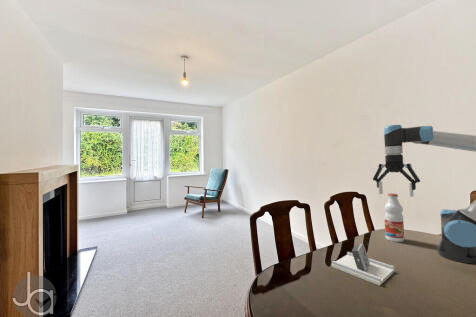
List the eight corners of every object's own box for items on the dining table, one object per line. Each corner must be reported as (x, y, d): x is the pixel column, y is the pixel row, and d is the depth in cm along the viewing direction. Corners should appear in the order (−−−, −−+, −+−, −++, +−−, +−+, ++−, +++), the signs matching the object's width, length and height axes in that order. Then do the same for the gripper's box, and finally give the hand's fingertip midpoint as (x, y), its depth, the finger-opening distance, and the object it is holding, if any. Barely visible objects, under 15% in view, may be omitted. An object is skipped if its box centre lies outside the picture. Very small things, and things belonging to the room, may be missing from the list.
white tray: (394, 271, 94) (394, 265, 94) (379, 285, 84) (379, 279, 84) (348, 256, 110) (348, 251, 110) (331, 266, 100) (331, 261, 100)
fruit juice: (407, 240, 128) (406, 194, 129) (397, 243, 125) (395, 195, 125) (391, 235, 137) (390, 192, 138) (381, 238, 134) (380, 193, 134)
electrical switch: (367, 272, 92) (363, 250, 92) (353, 269, 95) (350, 248, 96) (370, 263, 99) (367, 243, 100) (357, 262, 102) (354, 242, 103)
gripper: (426, 153, 105) (428, 196, 104) (370, 155, 124) (372, 192, 124) (422, 153, 100) (424, 198, 100) (365, 155, 120) (366, 193, 119)
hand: (395, 195), depth 112 cm, fingers open, 13 cm apart
